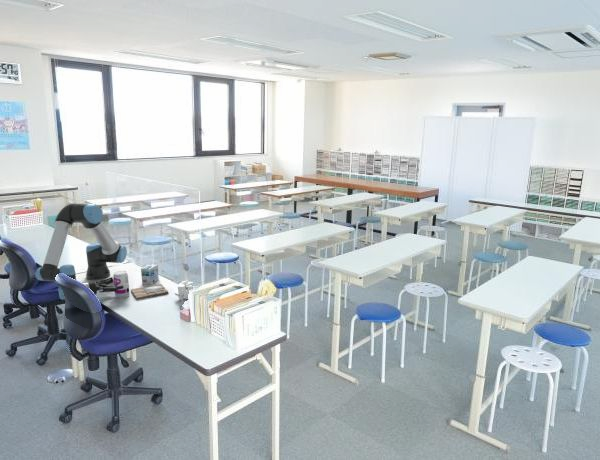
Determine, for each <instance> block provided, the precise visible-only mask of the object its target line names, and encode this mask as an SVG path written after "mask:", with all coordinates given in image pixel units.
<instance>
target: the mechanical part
mask: <svg viewBox="0 0 600 460" xmlns="http://www.w3.org/2000/svg"><path fill="white" fill-rule="evenodd" d="M193 288H195V289H196V286H195V285H194V282H193V281H189V279H185V280H183V281H181V282H179V284H178V285H177V289H175V290H174V295H175V296H177V297H178V299H179V300H181V302H183V300H185V299H188V294H189V290H191V289H193ZM188 300H189V299H188Z"/></svg>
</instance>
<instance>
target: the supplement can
mask: <svg viewBox="0 0 600 460" xmlns="http://www.w3.org/2000/svg"><path fill="white" fill-rule="evenodd" d="M112 277H113V279H114V283H113V286H117V285H121V284H127V283H129V274H128V272H127V271H125V270H120V271H119V270H118V271H116V272H114V273H113V276H112ZM130 294H131V292H130V287H129V288H126V289H120V290H118V292H114V297H115V298H117V299H124V298H128V297H129V296H130Z"/></svg>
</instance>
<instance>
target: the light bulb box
mask: <svg viewBox="0 0 600 460" xmlns="http://www.w3.org/2000/svg"><path fill="white" fill-rule="evenodd" d="M140 273H141V284H142V285H149V286H152V285H153V284H154V283H157V281H159V279H160V278H159V277H160V276H159V265H158V264H153V263H152V264H151V263H148V264H146V265H145V266H143V267H142V268H140Z"/></svg>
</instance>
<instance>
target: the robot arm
mask: <svg viewBox="0 0 600 460" xmlns="http://www.w3.org/2000/svg"><path fill="white" fill-rule="evenodd" d="M103 217H104V214H103V210H102V208H101V206H99V205H98V204H95V203H77V202H76V203H69V204H67V205H65V206H64V207H63V208H62V209H61V210H60V211H59V212H58V213H57V215H56V217H55V219H54V225H55V226H54V229H53V233H52V235H51V238H50V243H49V245H48V248H47V252H46V255H45V258H44V260H43V264H42V266H41V267H38V268H37V269H36V270H35V273H34V274H35V278H36V280H38V281H41V282H42V281H44V282H57V281H56V280H55V277H56V275H57V274H59V273H64V274H66V275H67V276H69V277H71V278H73V279H75V280H76V281H77V278H76V277H77V276H76V269H75V265H73V264H62V265H60V267H59V268H58V266H59V263H60V261H61V257H62V254H63V251H64V246H65V244H66V241H67V239H68V238H67V237H68V234H69V231H70V229H71V228H72V227H73V225H74V223H76V224H81V225H82V226H83V227H84V228H85V229H87V230H89V231H90V233H91V234H92V235H93V238H95V240H96V241H97V242H94V243H91V244H88V245H87V246H86V247H85V253H86V259H87V260H86V261H87V262H86V263H87V270H86V273H85V276H86V279H88V280H94V281H88V282H82V283H83V284H84V285H86V286H87V287H88V288H90V289H91V290H92V291H93V292H94V294H93V295H96V294H97V293H111V292H112V293H113V292H114V293H115V292H118V290H120V289H126V288H129V289H130V284H129V283H127V284H121V285H117V286H114V285H110V284H112V283H113V284H114V279H113V276H112V277H110V276H111V271H110V268H109V267H108V265H107V263H113V264H122V263H124V262H125V260H126V259H127V255H128V252H127V251H128V250H127V247H126V246H125V245H121V244H120V243H119V242H118V241H117V240H114V238H113V237H112V235H111V234H110V233H109V231H108V229H107V227H106V226H105V225H104V223H103V222H102V221H103ZM96 280H99V281H96ZM58 294H59V295H58V296H59V299H60V300H66V299H65V296H64V293H63V290H62V289H61V286H59V287H58Z"/></svg>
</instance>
